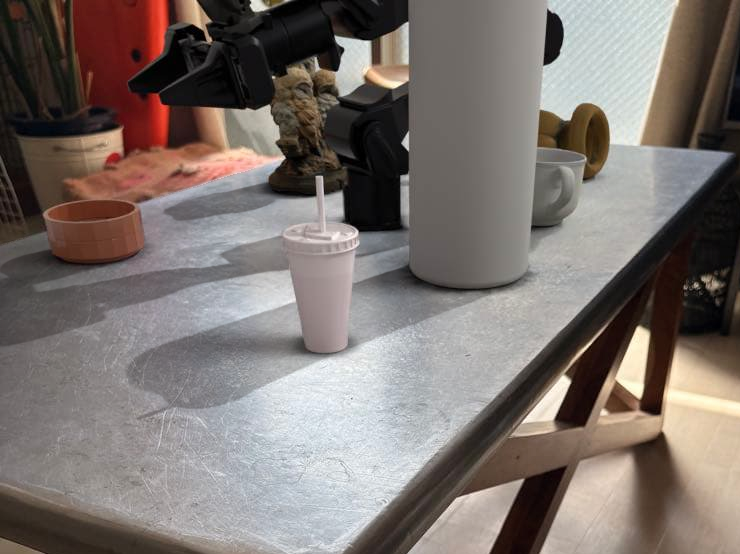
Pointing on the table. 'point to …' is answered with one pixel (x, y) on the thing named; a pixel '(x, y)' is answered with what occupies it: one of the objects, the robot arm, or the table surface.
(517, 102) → the cylinder vase
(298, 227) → the smoothie
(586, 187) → the table surface
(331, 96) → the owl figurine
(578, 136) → the brown looped sculpture
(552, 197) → the teacup
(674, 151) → the table surface
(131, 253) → the bowl
